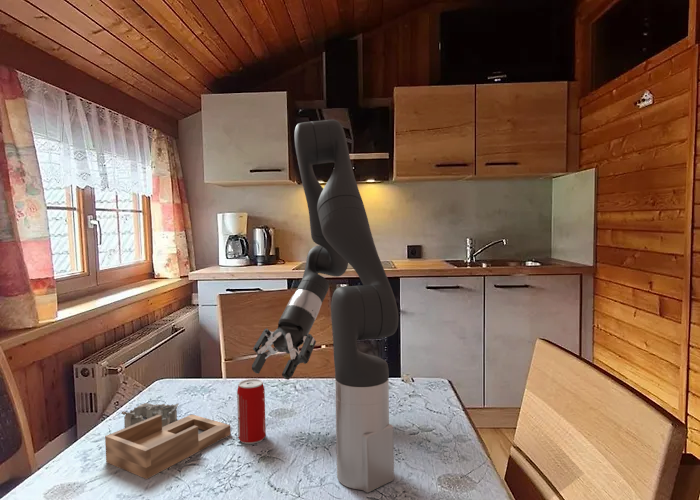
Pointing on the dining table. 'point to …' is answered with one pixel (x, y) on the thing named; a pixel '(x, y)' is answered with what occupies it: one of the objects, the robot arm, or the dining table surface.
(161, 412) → the grey piece
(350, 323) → the robot arm
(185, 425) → the two-compartment wooden tray
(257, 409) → the soda can
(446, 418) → the dining table surface
